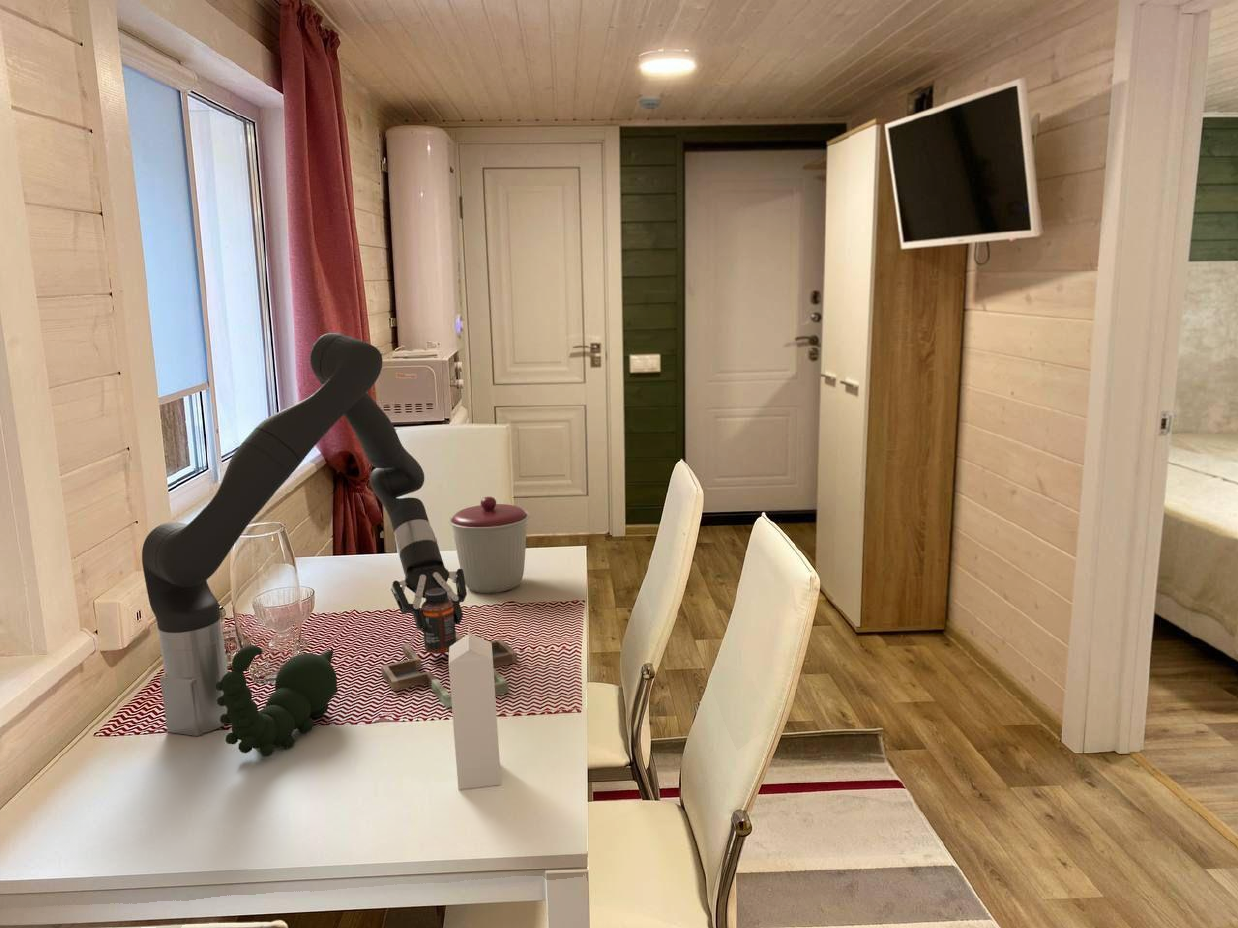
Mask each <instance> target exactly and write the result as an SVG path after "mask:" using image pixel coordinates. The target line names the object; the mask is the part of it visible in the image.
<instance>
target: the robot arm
mask: <svg viewBox="0 0 1238 928" xmlns="http://www.w3.org/2000/svg"><path fill="white" fill-rule="evenodd" d="M309 362H310V367H311V370H312V372H313V374H314V375H315V377H316V378H317V380H318V381H319V382H320V383H321V386H320V388H318V389H317V390H316V391H315V392H314V393H313V394H311V395H310V396H308V397H307V398H304V399H303V400H301V401H299V402H297V403H296V404H292V405H291V406H288V407H286V408H284V409H282V410H280V411H278V412H276V413H274V414H272V415H270V416H269V417H267V418H265V419H264V420H262V421H261V422H260V423H258V425H257V426H255V428H254V429H253V430H252V431H251V432H250V434H249V435H248V436H247V437H246V438H245V439H244V441H242V443H241V444H240V445H239V446H238V447H237V449H236V450H235V451H234V453H233V455H232V457H231V458H230V461H229V463H228V465H227V468H226V470H225V473H224V476H223V478H222V481H221V483H220V485H219V487H218V489H217V491H216V493H215V495H214V496H213V497H212V499H211V500H210V501H209V502H208V504H207V505H206V506H204V508H203V509H202V510H201V511H200V512H199V513H198V514H197V515H196V516H195V518H194V519H192V520H191V521H190V522H189V523H188V524H187V523H183V522H178V521H172V522H171V521H170V522H165V523H161V524H160V525H158V526H156V527H155V528H153V529H152V530H151V531H150V532H149V533H148V535H147V536H146V538H145V540H144V541H143V546H142V551H141V560H142V561H141V562H142V563H141V564H142V569H143V576H144V581H145V586H146V593H147V597H148V602H149V605H150V609H151V611H152V613H153V615H154V617H155V619H156V624H157V625H156V626H157V633H158V639H159V645H160V653H161V660H162V666H163V675H161V676H159V683H160V689H161V695H162V703H163V709H164V710H163V711H164V717H165V724H166V730H167V732H168V733H173V734H180V735H181V734H182V735H188V736H193V737H199V736H200V735H203V734H204V733H207V732H212V731H215V730H217V729H219V728H221V727H223V726H225V725H226V724H223V723H221V722H220V717H221V716H222V715H223V714H227V709H228V708H227V707H226V706H220V705H218V703H217V699H218V697H220V696H223V694H224V692H223V691H219V690H217V689H216V683H217V682H219V681H221V679H222V677H223V676H224V675H225V674H226V673H228V672H229V671H228V663H227V657H226V656H227V655H226V648H225V640H224V634H223V633H224V632H223V626H222V625H223V624H222V617H221V608H220V604H219V602H218V601H219V600H218V599H217V597H216V596H215V595H214V594H213V592H212V591H211V589H210V585H209V584H208V582H207V581H208V580H209V579H210V578H211V577H212V576H213V575H214V574H215V573H216V572H217V570H218V569H219V567H220V566H221V565H222V563H223V562H224V561H225V560H226V558H227V556H228V555H229V553H230V552H231V550H232V549H233V548H234V545H235V544H236V542H237V541H238V540H239V538H240V537H241V536H242V534H243V532H244V531H245V530H246V528H247V527H248V526H249V524H250V523H251V522H252V521H253V519H254V518H255V517H256V516H257V515H258V514H259V513H260V511H261V510H262V509H263V508H264V507H265V506H266V504H267V503H268V502H269V501H270V499H271V498H272V497H273V496H274V494H276V492H277V491H278V490H279V489H280V488H281V487H282V485H284V484H285V482H287V480H289V478H290V477H291V475H293V474H294V472H295V471H296V470H297V469H298V467H299V466H300V465H301V464H302V463H303V461H304V460H305V458H306V457H307V456H308V455H309V453H310V452H311V451H312V450H313V449H314V447H315V446H316V445H317V444H318V442H320V441H321V439H322V438H323V437H324V436H325V435H326V434H327V433H328V432H329V430H330V429H332V427H333V426H334V425H335V424H336V423H337V422H338V421H339V419H341V418H342V417H343V416H344V417H345V419H346V420H347V422H348V423H349V425H350V426H351V429H352V430H353V432H354V433H355V435H356V437H357V440H358V442H359V444H360V445H361V448H362V450H363V452H364V454H365V456H366V459H367V460H368V462H369V463H370V464H371V466H373V467H374V469H373V470H372V471H371V473H370V476H369V485H370V488H371V490H372V491H373V494H375V496H376V497H377V499H378V500H379V502H380V503H381V504H382V506H383V507H384V508H385V511H386V513H387V515H388V518H389V521H390V523H391V527H392V529H393V530H392V532H393V533H394V540H395V545H396V549H397V553H398V555H399V560H400V563H401V567H402V571H403V574H404V579H403V580H400V581H398V580H394V581H393V582H392V585H391V589H390V590H391V593H392V595H393V597H394V599H395V601H396V604H397V606H398V608H399V610H400V612H401V613H402V615H406V614H411V615H412V616H413V619H414V623H415V626H416V628H417V630H420V631H421V632H422V633H423V632H424V631H426V628H427V625H426V621H425V618H424V615H423V611H422V609H421V602H422V598H423V599H425V598H426V597H425V592H426V591H428V590H430V589H434V588H443V589H446V590H447V595H448V597H447V598H448V599H449V600H451V601H452V603H453V607H454V619H455V625H460V624H461V622H462V620H463V616H464V614H463V610H462V606H461V604H460V603H463V602H464V601H465V600H466V596H467V594H468V592H467V586H466V585H465V579H464V573H463V570H462V569H460V568H458V569H457V570H455V571H454V570H453V571H449V570H448V569H447V568H446V567H445V563H444V560H443V558H442V557H443V556H442V555H441V552H440V547H439V545H438V539H437V537H436V535H435V532H434V530H433V527H432V525H431V523H430V520H429V518H428V513H427V511H426V508H425V505H424V502H422V500H421V499H419V498H418V497H403V496H405V495H408V494H412V493H414V492H417V491H419V490H420V489H421V488H422V487H423V486H424V483H425V473H424V470H423V468H422V466H421V465H420V463H419V462H418V461H417V460H416V459H415V458H414V457H413V456H412V455H411V454H410V453H409V452H408V451H407V450H406V448H405V447H404V446H403V444H402V442H401V440H400V437H399V435H398V433H397V431H396V428H395V427H394V425H393V423H392V421H391V420H390V418H389V417H388V415H387V414H386V413H385V411H384V410H383V409H382V408H381V407H380V406H379V405H378V403H377V402H376V401H375V400H374V399H373V398H372V397H371V396H370V395H369V393H368V392H369V391H370V390H371V388H372V387H373V386H374V385H375V383H376V381H378V378H379V376H380V375H381V372H382V368H383V355H382V353H381V351H380V350H379V349H378V348H377V347H376V346H375V345H372V344H370V343H368V342H365V341H363V340H360V339H357V338H354V337H353V336H349V335H345V334H343V333H338V332H337V333H336V332H329V333H325V334H323V335H321V336H320V337H319V338H318V339H317V340H316V341H315V342H314V344H313V345H312V348H311V351H310V356H309ZM399 497H400V498H399ZM401 497H402V498H401ZM449 579H450V580H451V582H452V583H454V584H455V588H456V593H457V594H456V593H455V591H453V588H452V587H451V586H450V585H449V583H447V582H448V580H449ZM406 588H407V589H409V590H410V591H411V592H413V593H414V599H413V602H412V603H409V601H408V599H407V596H406V594H405V590H406Z"/></svg>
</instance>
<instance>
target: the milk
mask: <svg viewBox="0 0 1238 928" xmlns="http://www.w3.org/2000/svg"><path fill="white" fill-rule="evenodd" d="M462 637H463V638H462V639H460V640H459V641H457V642H456V643H454V644H453V645H451V646H450V647H449V652H448V674H449V675H448V676H449V686H450V687H449V688H450V694H451V702H452V707H451V712H452V713H451V715H452V723H453V724H452V725H453V736H454V737H453V739H454V750H455V764H456V775H457V776H456V777H457V787H458V791H459V790H467V789H468V790H469V789H477V788H486V787H494V786H500V785H502V778H501V777H502V775H501V774H502V773H501V761H500V760H501V757H500V747H499V745H500V744H499V733H498V732H499V731H498V717H497V702H496V696H495V684H494V669H495V668H494V669H493V655H492V643H491V642H489V641H488V640H487V639H484V638H482V637H479V636H477V635H475V634H473V633H471V630H470V624H468V634H467V635H465V636H462Z"/></svg>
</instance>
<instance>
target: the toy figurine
mask: <svg viewBox="0 0 1238 928" xmlns="http://www.w3.org/2000/svg"><path fill="white" fill-rule="evenodd" d="M263 653H264V651H263V650H262V648H261V647H259V646H258V645H249V644H248V645H246V646H244V647H243V648H241V649H240V650H238V651H237V653H236V654H234V657H233V658H232V661H231V668H232V670H231V671H228V673H226V674H225V675H224V676H223V677H222V679H221V681H219V682H217V683H216V689H217V690H219V691H223V692H224V694H223V696H220V697H218V699H217V703H218V705H220V706H226V707H227V708H228V709H227V714H223V715H222V716H221V717H220V722H221V723H223V724H225V725H227V724H229V723H230V724H231V732H228V734H227V735H226V737H225V742H226V744H228V745H236V744H237V743H238V741H240V742H239V743H238V747H237V749H238V750H239V752H241V754H248V753H250V752H252V751H253V749H254V750H259V753H260V754H261V755H262V756H263V757H269V756H271V755H272V754H273V753H274V752H275V747H277V746H281V747H282V749H283V748H284V749H291V748H293V747H294V746H295V743H296V739H295V737H294V735H293V733H294V731H295V730H298V732H300V733H301V734H307V733H309V732H311V731H312V730H313V729H314V725H315V724H314V720H313V719H312V718H311V717H313V718H319V717H321V716H324V715H325V714H326V713H327V712H328V710H329V703H330V702H331V700H332V699H333V697H335V695H337V693H338V691H339V690H338V679H337V678H338V677H337V672H336V671H335V668H334V666H333V665H332V660H333V657H334V650H333V649H329V650H327V651H325V652H323V653H321V654H317V653H311V652H309V653H307V652H306V653H300V654H297V655H294V656H293V657H290V658H289V659H288V660H287V661H286V662H284V664H283V665H282V666H281V667H280V669H279V670H278V671H277V674H276V678H275V681H274V692H272V694H270V695H269V697H268V699H267V700H266V703H265V704H264V705H265V706H264V707H263V708H262V709H261V710H259V708H258V705H257V702H255V701H254V700H253V693H252V691H251V688H250V687H249V686H248V685H247V677H246V676H245V675H244V674H243V673H244V672H245V671H247V670H248V669H249V667H251V664H252V662H253V661H254V659H255V657H256V656H257V655H258V656H262V655H263Z"/></svg>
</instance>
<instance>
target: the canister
mask: <svg viewBox="0 0 1238 928" xmlns="http://www.w3.org/2000/svg"><path fill="white" fill-rule="evenodd" d="M530 517H531V516H530V512H528V511H527V510H525V509H523V508H521V507H520V506H517V505H512V504H507V503H505V504H504V503H503V504H502V503H497V500H496V499H495V497H493V496H485V497H483V498H482V499H480V505H474V506H470V507H466V508H463V509H461V510H459V511H457V512H456V513H455V514H453V515H452V516H450V518H449V519H448V523H449V525H451V527H452V531H453V532H452V533H453V538H454V542H455V548H456V549H455V550H456V554H457V559H458V563H459V569H462V570H463V573H464V579H465V585H466V588H468V589H469V590H471V591H473V592H476V593H480V594H481V593H482V594H495V593H496V594H497V593H503V592H507V591H511V590H513V589H515V588H516V587H518V586H519V585H520V584H521V582H522V580H523V578H524V573H525V572H524V571H525V563H526V562H525V561H526V547H527V546H526V545H527V542H526V541H527V528H528V527H527V526H528V524H527V521H528V520H529V519H530Z"/></svg>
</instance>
